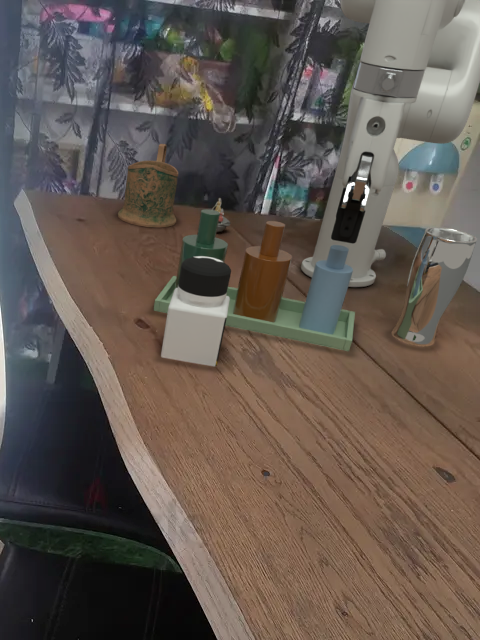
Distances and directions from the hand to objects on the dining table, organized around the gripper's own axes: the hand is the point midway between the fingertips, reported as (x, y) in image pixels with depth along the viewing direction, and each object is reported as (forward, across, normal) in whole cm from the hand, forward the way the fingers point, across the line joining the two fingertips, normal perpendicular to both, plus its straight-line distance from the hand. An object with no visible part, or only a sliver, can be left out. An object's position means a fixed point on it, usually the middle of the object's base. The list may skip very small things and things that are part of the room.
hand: (345, 230), depth 98 cm
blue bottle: (+14, -1, 0) cm, 14 cm away
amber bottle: (+14, -1, +9) cm, 16 cm away
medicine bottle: (+14, -18, +15) cm, 27 cm away
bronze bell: (+16, +43, +36) cm, 59 cm away
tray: (+14, -1, +9) cm, 17 cm away
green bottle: (+14, -1, +18) cm, 23 cm away
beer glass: (+14, +3, -13) cm, 20 cm away
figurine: (+16, +40, +22) cm, 49 cm away
